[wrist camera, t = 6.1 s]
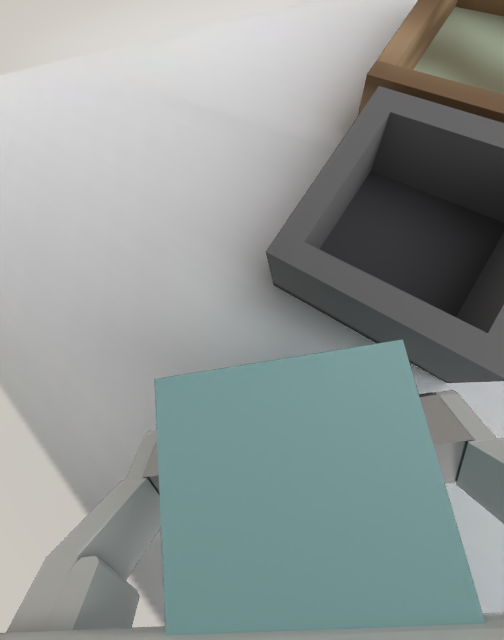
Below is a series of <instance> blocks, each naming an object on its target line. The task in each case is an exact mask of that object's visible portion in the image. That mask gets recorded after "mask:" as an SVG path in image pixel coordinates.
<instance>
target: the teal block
mask: <svg viewBox="0 0 504 640" xmlns="http://www.w3.org/2000/svg"><path fill="white" fill-rule="evenodd" d="M154 381H155V403H156V426H157V449H158V471H159V494H160V516H161V539H162V561H163V584H164V606H165V629H166V635H186V634H214V633H241V632H268V631H296V630H323V629H351V628H378V627H405V626H431V625H458V624H484V623H485V620H484V617H483V613H482V610H481V606H480V603H479V600H478V596H477V593H476V589H475V586H474V582H473V579H472V576H471V572H470V569H469V565H468V562H467V558H466V555H465V552H464V548H463V545H462V541H461V538H460V534H459V531H458V527H457V524H456V521H455V517H454V514H453V510H452V507H451V503H450V500H449V497H448V493H447V490H446V486H445V483H444V479H443V476H442V473H441V469H440V466H439V462H438V459H437V455H436V452H435V448H434V445H433V442H432V438H431V435H430V431H429V428H428V424H427V421H426V418H425V414H424V411H423V407H422V404H421V400H420V397H419V394H418V390H417V387H416V383H415V380H414V376H413V373H412V369H411V366H410V363H409V359H408V356H407V352H406V349H405V345H404V342H403V340H397V341H390V342H384V343H378V344H372V345H365V346H359V347H353V348H347V349H340V350H334V351H328V352H321V353H315V354H309V355H303V356H296V357H290V358H284V359H278V360H271V361H265V362H259V363H252V364H246V365H240V366H234V367H227V368H221V369H215V370H209V371H202V372H196V373H190V374H183V375H177V376H171V377H165V378H158V379H154Z"/></svg>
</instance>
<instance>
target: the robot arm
mask: <svg viewBox="0 0 504 640" xmlns="http://www.w3.org/2000/svg"><path fill="white" fill-rule="evenodd" d="M419 397H420V400H421V404H422V407H423V411H424V414H425V418H426V421H427V424H428V428H429V431H430V435H431V438H432V442H433V445H434V448H435V452H436V455H437V459H438V462H439V466H440V469H441V473H442V476H443V479H444V483H456V485H458V486H459V487H460V488H461V489H462V490H464V491H465V492H466V493H467V494H468V495H470V496H471V497H472V498H473V499H475V500H476V501H477V502H478V503H479V504H481V505H482V506H483V507H484V508H485V509H487V510H488V511H489V512H490V513H492V514H493V515H494V516H495V517H496V518H498V519H499V520H500V521H501V522H502V523H504V438H496V437H495V435H494V434H493V433H492V432H491V431H490V430H489V429H488V427H487V426H486V425H485V424H484V423H483V422H482V421H481V419H480V418H479V417H478V416H477V415H476V414H475V413H474V411H473V410H472V409H471V408H470V407H469V406H468V405H467V403H466V402H465V401H464V400H463V399H462V398H461V396H460V395H459V394H458V393H457V392H455V391H454V390H449V391H442V392H435V393H425V394H419ZM160 528H161V516H160V494H159V471H158V449H157V430H151V431H148V432H147V433H146V434H145V435H144V437H143V440H142V442H141V445H140V447H139V449H138V452H137V454H136V457H135V459H134V461H133V464H132V466H131V469H130V471H129V474H128V476H127V478H126V480H122V481H121V482H120V483H119V484H118V485H117V486H116V487H115V488H114V489H113V490H112V491H111V492H110V493H109V494H108V495H107V496H106V497H105V498H104V499H103V500H102V501H101V502H100V503H99V504H98V505H97V506H96V507H95V508H94V509H93V510H92V511H91V512H90V513H89V514H88V515H87V516H86V517H85V518H84V519H83V520H82V521H81V523H80V524H79V525H78V526H77V527H76V528H75V529H74V530H73V531H72V532H71V533H70V534H69V535H68V536H67V537H66V538H65V539H64V540H63V541H62V542H61V543H60V544H59V545H58V546H57V547H56V548H55V549H54V550H53V551H52V552H51V553H50V554H49V555H48V556H47V557H46V559H45V561H44V562H43V564H42V566H41V568H40V570H39V572H38V574H37V575H36V577H35V579H34V581H33V583H32V585H31V587H30V589H29V591H28V592H27V594H26V596H25V598H24V600H23V602H22V604H21V606H20V607H19V609H18V611H17V613H16V615H15V617H14V619H13V620H12V623H11V624H10V626H9V628H8V630H7V632H6V633H0V640H504V613H483V617H484V620H485V623H484V624H458V625H431V626H405V627H378V628H351V629H323V630H296V631H268V632H241V633H214V634H186V635H166V629H165V626H161V627H138V628H132V624H133V620H134V616H135V612H136V608H137V604H138V601H139V597H140V596H139V593H138V591H137V590H136V589H135V588H134V587H133V586H131V585H130V584H129V583H128V582H127V581H126V580H127V578H128V577H129V575H130V574H131V572H132V571H133V569H134V568H135V566H136V565H137V563H138V561H139V560H140V558H141V557H142V555H143V554H144V552H145V551H146V549H147V548H148V546H149V545H150V543H151V542H152V540H153V539H154V537H155V535H156V534H157V532H158V531H159V529H160Z"/></svg>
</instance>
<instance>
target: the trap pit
mask: <svg viewBox="0 0 504 640" xmlns="http://www.w3.org/2000/svg"><path fill="white" fill-rule="evenodd" d="M266 254H267V259H268V263H269V267H270V271H271V275H272V280H273V284H274V285H275V286H277V287H279V288H280V289H282V290H284V291H286V292H287V293H289V294H291V295H293V296H294V297H296V298H298V299H300V300H302V301H303V302H305V303H307V304H309V305H310V306H312V307H314V308H316V309H318V310H319V311H321V312H323V313H325V314H326V315H328V316H330V317H332V318H333V319H335V320H337V321H339V322H341V323H342V324H344V325H346V326H348V327H349V328H351V329H353V330H355V331H356V332H358V333H360V334H362V335H364V336H365V337H367V338H369V339H371V340H372V341H374V342H376V343H384V342H390V341H397V340H403V342H404V345H405V349H406V352H407V356H408V359H409V361H410V362H411V363H413V364H415V365H417V366H418V367H420V368H422V369H424V370H426V371H427V372H429V373H431V374H433V375H434V376H436V377H438V378H440V379H442V380H443V381H445V382H447V383H461V382H489V381H504V123H502V122H498V121H495V120H492V119H488V118H485V117H482V116H478V115H475V114H472V113H468V112H465V111H461V110H458V109H455V108H451V107H448V106H445V105H441V104H438V103H435V102H431V101H428V100H424V99H421V98H418V97H414V96H411V95H408V94H404V93H401V92H398V91H394V90H391V89H387V88H384V87H381V86H379V87H378V88H377V90H376V91H375V93H374V94H373V95H372V97H371V98H370V100H369V101H368V103H367V104H366V106H365V107H364V109H363V110H362V112H361V113H360V115H359V116H358V117H357V119H356V120H355V122H354V123H353V125H352V126H351V128H350V129H349V131H348V132H347V134H346V135H345V137H344V138H343V139H342V141H341V142H340V144H339V145H338V147H337V148H336V150H335V151H334V153H333V154H332V156H331V157H330V159H329V160H328V161H327V163H326V164H325V166H324V167H323V169H322V170H321V172H320V173H319V175H318V176H317V178H316V179H315V181H314V182H313V183H312V185H311V186H310V188H309V189H308V191H307V192H306V194H305V195H304V197H303V198H302V200H301V201H300V203H299V204H298V205H297V207H296V208H295V210H294V211H293V213H292V214H291V216H290V217H289V219H288V220H287V222H286V223H285V224H284V226H283V227H282V229H281V230H280V232H279V233H278V235H277V236H276V238H275V239H274V241H273V242H272V244H271V245H270V246H269V248H268V249H267V251H266Z"/></svg>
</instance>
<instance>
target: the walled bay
mask: <svg viewBox="0 0 504 640" xmlns="http://www.w3.org/2000/svg"><path fill="white" fill-rule="evenodd" d="M379 86H381V87H384V88H387V89H391V90H394V91H398V92H401V93H404V94H408V95H411V96H414V97H418V98H421V99H424V100H428V101H431V102H435V103H438V104H441V105H445V106H448V107H451V108H455V109H458V110H461V111H465V112H468V113H472V114H475V115H478V116H482V117H485V118H488V119H492V120H495V121H498V122H502V123H504V0H418V2H417V3H416V5H415V6H414V7H413V9H412V10H411V12H410V13H409V15H408V16H407V18H406V19H405V20H404V22H403V23H402V25H401V26H400V28H399V29H398V30H397V32H396V33H395V35H394V36H393V38H392V39H391V41H390V42H389V43H388V45H387V46H386V48H385V49H384V51H383V52H382V54H381V55H380V56H379V58H378V59H377V61H376V62H375V64H374V65H373V67H372V68H371V69H370V71H369V72H368V74H367V77H366V82H365V86H364V91H363V95H362V100H361V105H360V109H359V114H358V116H359V115H360V113H361V112H362V110H363V109H364V107H365V106H366V104H367V103H368V101H369V100H370V98H371V97H372V95H373V94H374V93H375V91H376V90H377V88H378V87H379Z"/></svg>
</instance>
